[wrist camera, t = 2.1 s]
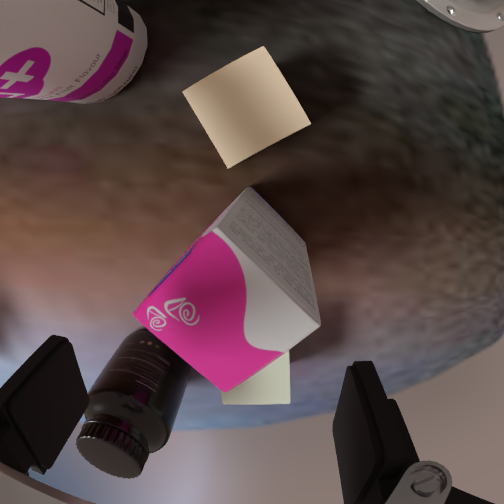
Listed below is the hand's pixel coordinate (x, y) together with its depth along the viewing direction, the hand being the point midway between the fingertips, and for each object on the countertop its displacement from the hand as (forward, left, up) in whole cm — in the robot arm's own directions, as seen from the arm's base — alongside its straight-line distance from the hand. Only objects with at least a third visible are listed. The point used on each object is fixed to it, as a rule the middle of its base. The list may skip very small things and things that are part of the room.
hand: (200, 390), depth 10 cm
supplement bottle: (+10, +8, -15) cm, 20 cm away
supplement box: (-1, 0, -15) cm, 15 cm away
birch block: (-3, -9, -15) cm, 17 cm away
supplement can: (+6, -17, -15) cm, 24 cm away
